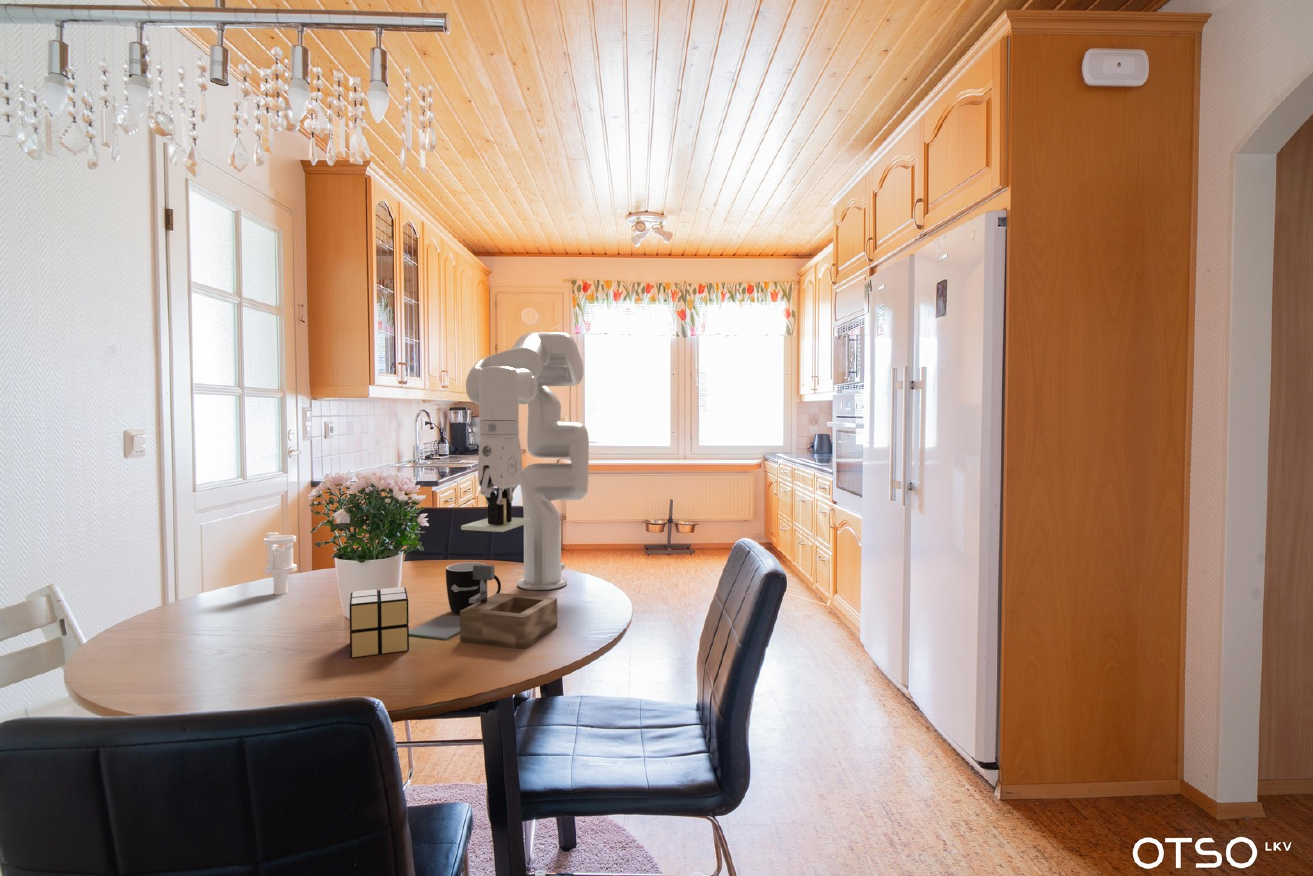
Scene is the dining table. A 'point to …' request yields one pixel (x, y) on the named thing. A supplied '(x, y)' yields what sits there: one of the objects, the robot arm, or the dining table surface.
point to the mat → (438, 628)
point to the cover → (484, 526)
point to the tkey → (482, 581)
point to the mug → (463, 585)
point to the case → (508, 620)
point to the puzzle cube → (379, 622)
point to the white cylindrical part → (280, 560)
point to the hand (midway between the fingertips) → (499, 522)
